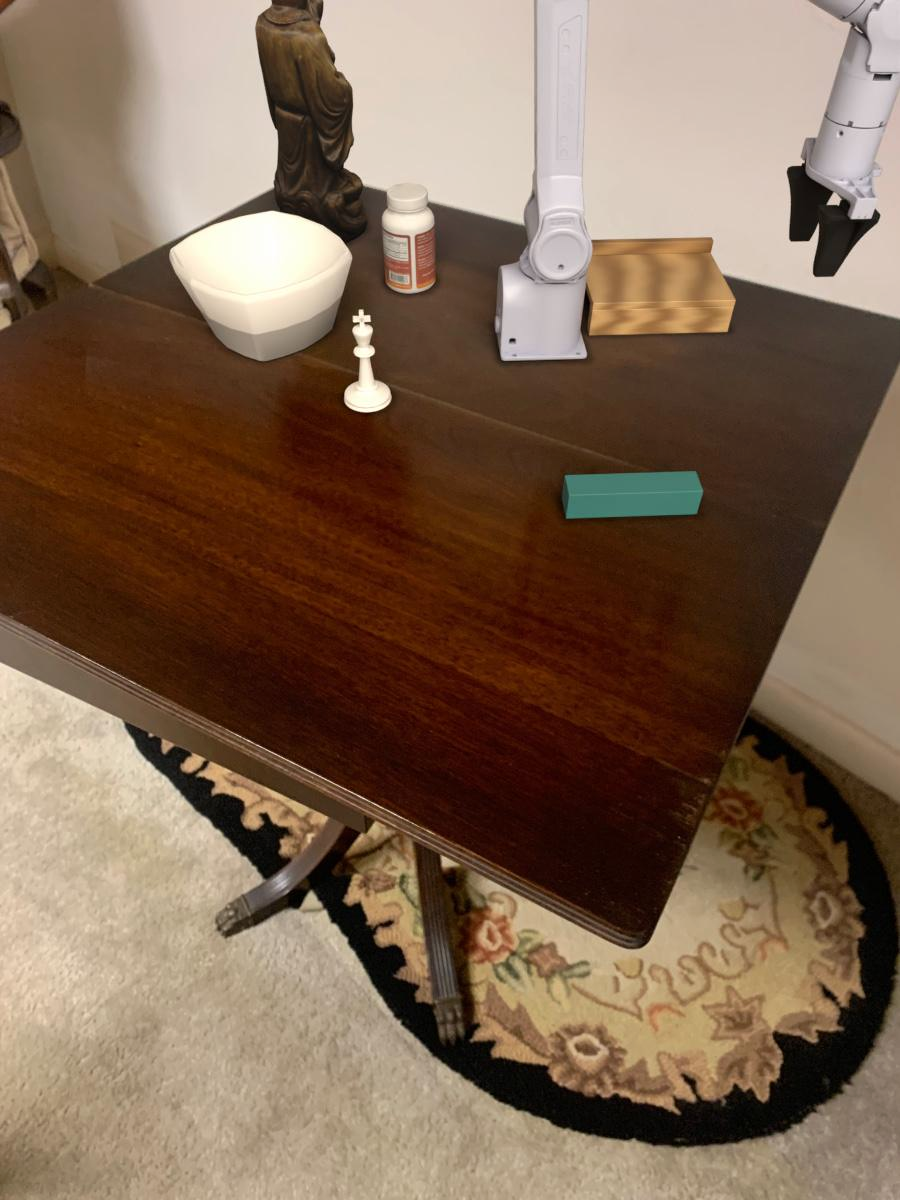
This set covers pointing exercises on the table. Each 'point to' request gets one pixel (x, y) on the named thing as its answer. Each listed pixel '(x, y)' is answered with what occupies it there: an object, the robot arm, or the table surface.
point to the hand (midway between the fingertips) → (810, 257)
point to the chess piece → (365, 373)
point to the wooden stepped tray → (656, 287)
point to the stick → (631, 494)
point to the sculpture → (309, 118)
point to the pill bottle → (408, 239)
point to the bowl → (265, 281)
